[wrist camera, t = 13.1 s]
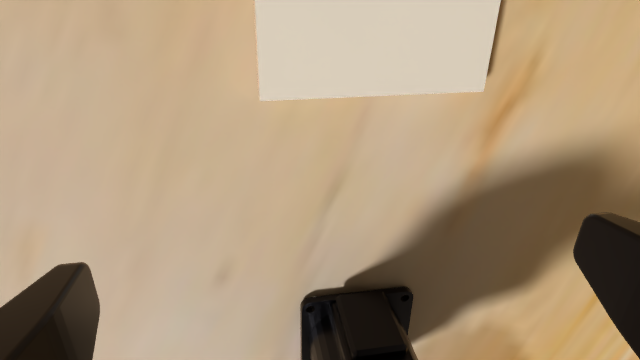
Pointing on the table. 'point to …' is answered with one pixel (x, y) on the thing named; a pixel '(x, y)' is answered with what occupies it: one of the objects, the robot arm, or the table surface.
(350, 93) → the stone coaster
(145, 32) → the table surface
